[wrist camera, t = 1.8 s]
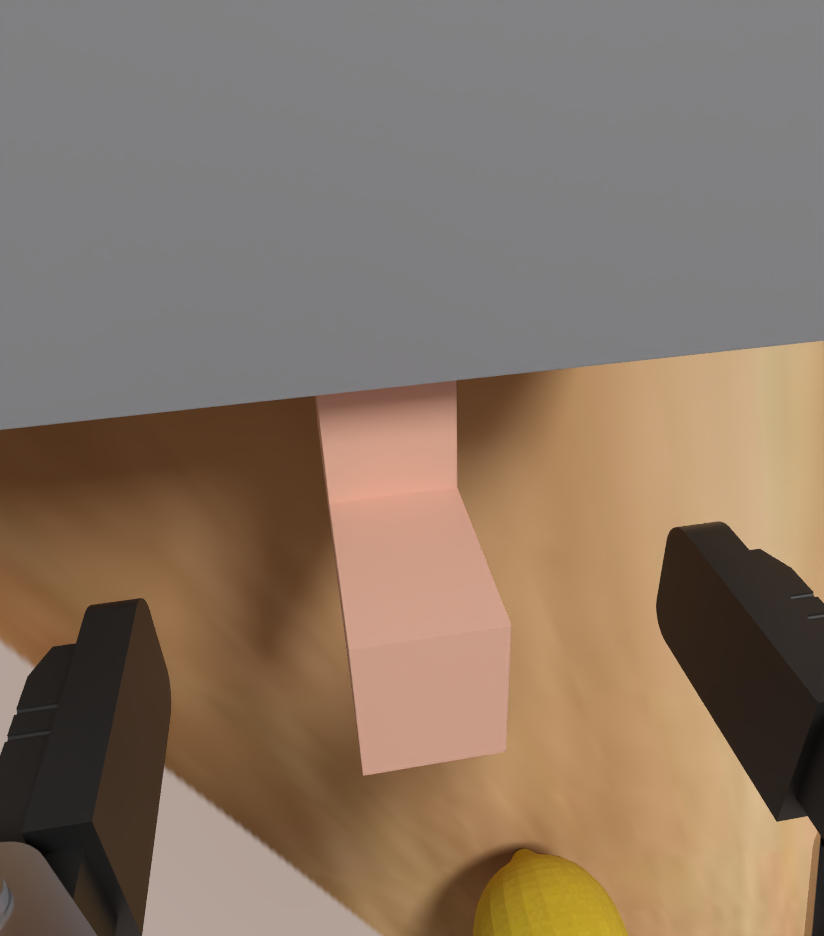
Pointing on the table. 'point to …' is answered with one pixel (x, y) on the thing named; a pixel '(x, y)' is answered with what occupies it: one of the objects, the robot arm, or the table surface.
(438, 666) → the drawer
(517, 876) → the lemon
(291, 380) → the sleeve
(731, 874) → the table surface
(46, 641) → the table surface
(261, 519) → the table surface
